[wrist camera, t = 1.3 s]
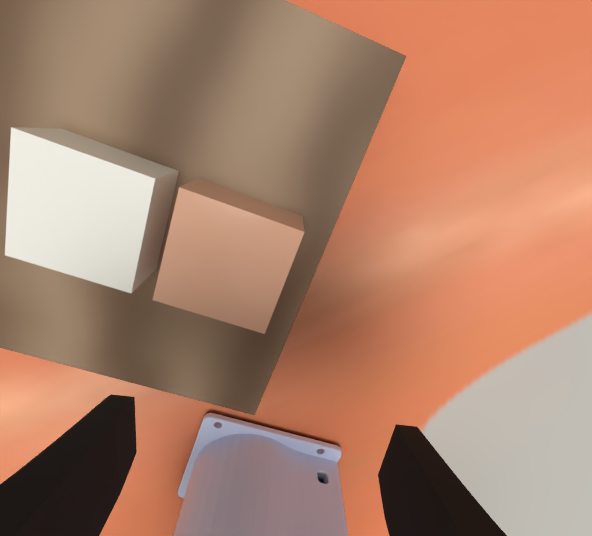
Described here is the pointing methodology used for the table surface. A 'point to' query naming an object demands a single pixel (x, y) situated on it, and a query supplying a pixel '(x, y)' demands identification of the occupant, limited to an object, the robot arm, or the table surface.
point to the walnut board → (186, 163)
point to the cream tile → (85, 207)
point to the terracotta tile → (227, 255)
